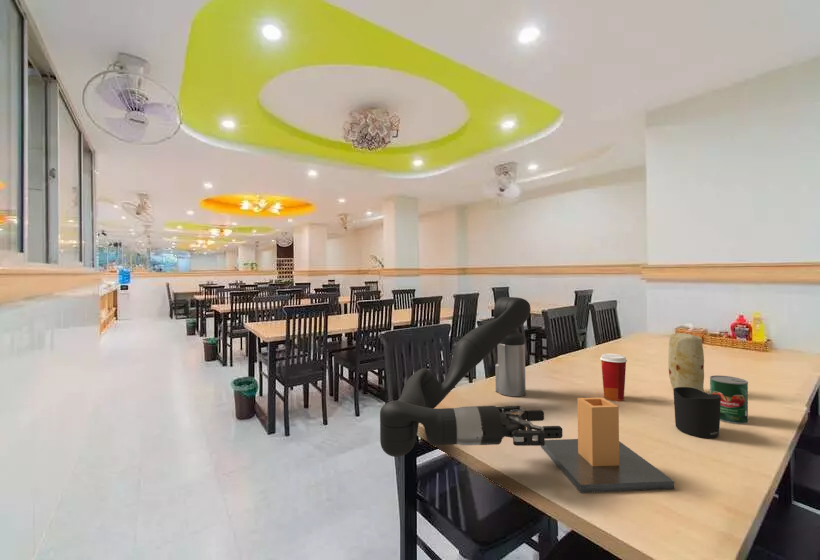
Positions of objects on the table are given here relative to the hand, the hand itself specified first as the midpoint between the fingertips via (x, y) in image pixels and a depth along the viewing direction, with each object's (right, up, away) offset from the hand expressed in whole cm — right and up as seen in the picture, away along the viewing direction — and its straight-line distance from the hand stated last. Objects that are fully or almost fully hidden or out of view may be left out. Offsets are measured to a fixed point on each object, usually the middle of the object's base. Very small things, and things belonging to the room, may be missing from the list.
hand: (552, 423), depth 74 cm
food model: (+64, -9, +46) cm, 80 cm away
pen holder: (+44, -9, +16) cm, 47 cm away
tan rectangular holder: (+10, -8, 0) cm, 13 cm away
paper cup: (+37, -9, +41) cm, 56 cm away
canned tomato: (+59, -9, +24) cm, 64 cm away
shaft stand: (+10, -9, +1) cm, 14 cm away
